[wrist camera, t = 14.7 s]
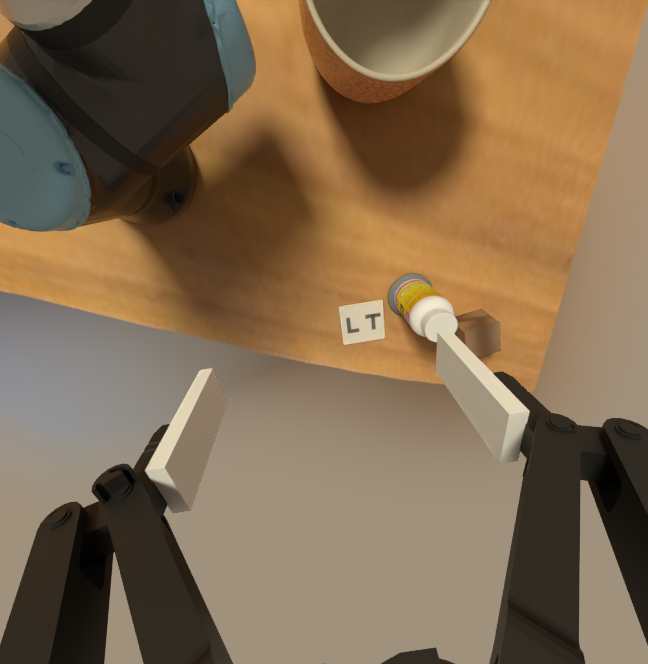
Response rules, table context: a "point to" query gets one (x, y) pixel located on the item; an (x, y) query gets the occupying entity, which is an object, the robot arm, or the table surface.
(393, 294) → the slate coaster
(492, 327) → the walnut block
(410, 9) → the planter
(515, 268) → the table surface
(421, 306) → the supplement bottle
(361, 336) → the tile
